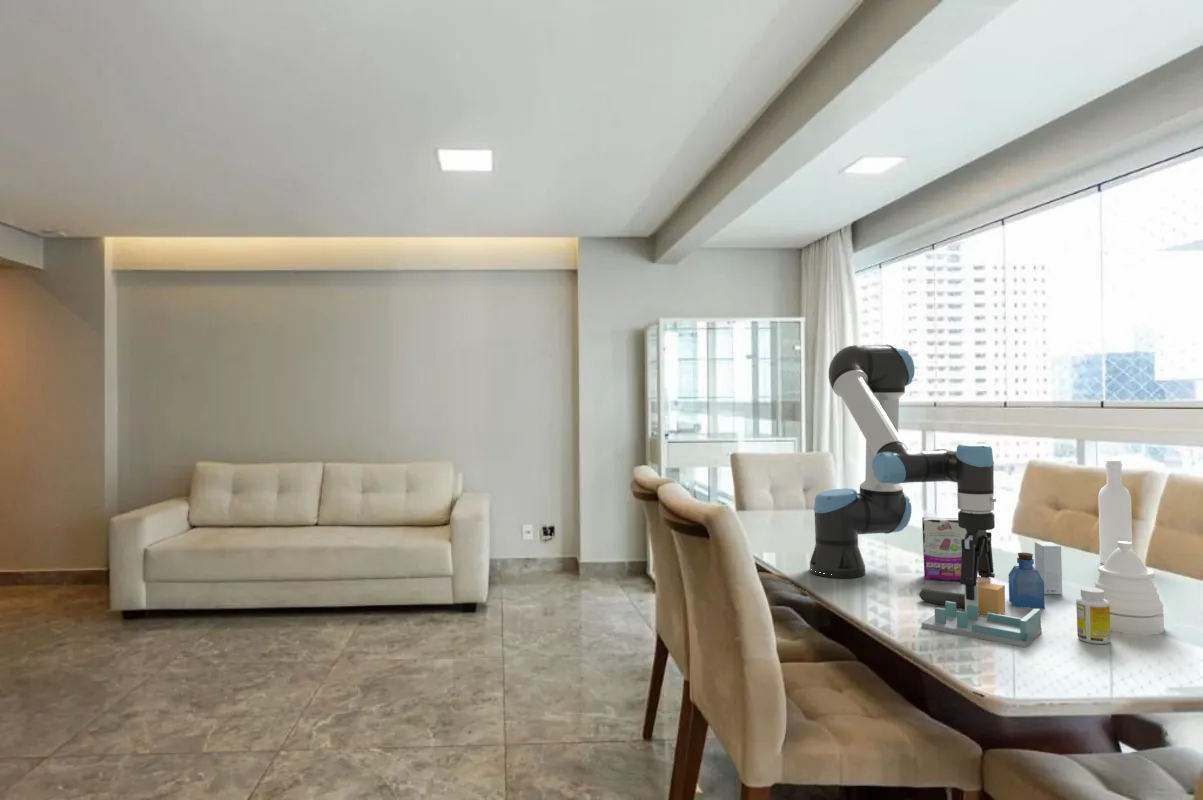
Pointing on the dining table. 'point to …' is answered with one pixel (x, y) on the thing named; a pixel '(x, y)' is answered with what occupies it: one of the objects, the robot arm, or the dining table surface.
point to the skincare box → (1049, 566)
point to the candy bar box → (942, 548)
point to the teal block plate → (986, 625)
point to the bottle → (1114, 511)
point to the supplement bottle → (1093, 616)
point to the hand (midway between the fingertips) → (978, 609)
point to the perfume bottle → (1026, 584)
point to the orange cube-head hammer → (987, 594)
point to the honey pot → (1130, 593)
